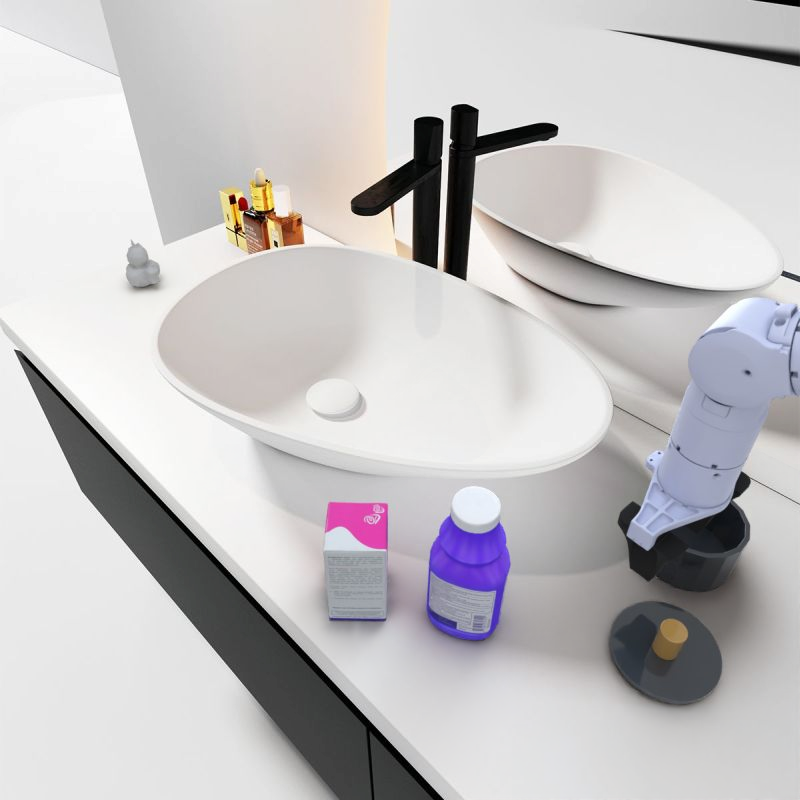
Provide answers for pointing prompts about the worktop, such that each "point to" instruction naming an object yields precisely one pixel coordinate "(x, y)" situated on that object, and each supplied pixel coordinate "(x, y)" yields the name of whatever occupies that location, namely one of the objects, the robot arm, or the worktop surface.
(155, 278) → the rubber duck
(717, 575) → the pot
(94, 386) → the worktop surface
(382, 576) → the supplement box
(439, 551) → the bottle
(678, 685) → the lid
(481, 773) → the worktop surface
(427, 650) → the worktop surface
